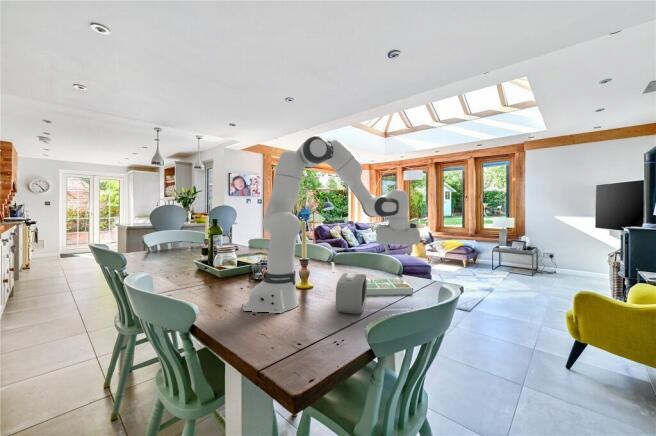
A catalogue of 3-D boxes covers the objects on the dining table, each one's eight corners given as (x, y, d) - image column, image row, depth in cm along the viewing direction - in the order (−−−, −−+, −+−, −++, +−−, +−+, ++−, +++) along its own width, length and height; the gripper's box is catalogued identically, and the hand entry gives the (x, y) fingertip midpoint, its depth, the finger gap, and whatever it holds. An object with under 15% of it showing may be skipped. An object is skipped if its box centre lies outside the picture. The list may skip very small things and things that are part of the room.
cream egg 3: (393, 288, 134) (393, 279, 134) (390, 285, 138) (391, 276, 138) (402, 287, 134) (402, 279, 134) (399, 285, 139) (399, 276, 138)
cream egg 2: (382, 293, 126) (382, 284, 126) (379, 290, 131) (379, 281, 130) (391, 293, 126) (391, 283, 126) (389, 290, 131) (389, 281, 131)
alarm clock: (361, 319, 100) (361, 283, 99) (335, 316, 102) (335, 281, 102) (366, 299, 120) (367, 269, 119) (345, 298, 122) (345, 268, 122)
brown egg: (398, 290, 127) (403, 281, 126) (395, 287, 131) (400, 279, 131) (406, 294, 127) (411, 286, 127) (403, 291, 131) (408, 283, 131)
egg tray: (362, 296, 124) (362, 288, 124) (357, 286, 139) (357, 279, 139) (412, 295, 125) (413, 287, 125) (401, 285, 141) (402, 278, 140)
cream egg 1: (363, 288, 133) (363, 279, 133) (361, 285, 138) (361, 277, 137) (372, 288, 134) (372, 279, 133) (370, 285, 138) (370, 277, 138)
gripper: (377, 224, 125) (376, 254, 125) (422, 225, 125) (421, 255, 126) (374, 223, 131) (374, 252, 132) (417, 224, 132) (416, 252, 132)
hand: (397, 253), depth 129 cm, fingers open, 8 cm apart
